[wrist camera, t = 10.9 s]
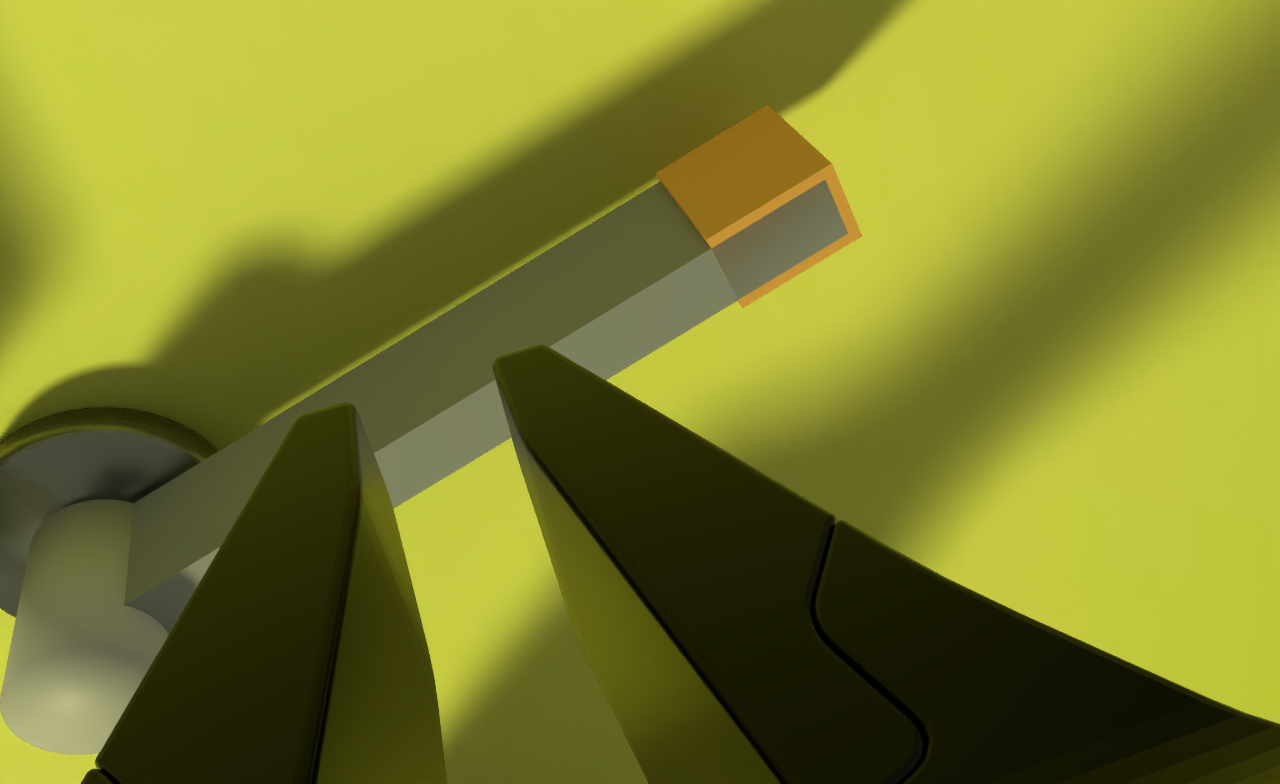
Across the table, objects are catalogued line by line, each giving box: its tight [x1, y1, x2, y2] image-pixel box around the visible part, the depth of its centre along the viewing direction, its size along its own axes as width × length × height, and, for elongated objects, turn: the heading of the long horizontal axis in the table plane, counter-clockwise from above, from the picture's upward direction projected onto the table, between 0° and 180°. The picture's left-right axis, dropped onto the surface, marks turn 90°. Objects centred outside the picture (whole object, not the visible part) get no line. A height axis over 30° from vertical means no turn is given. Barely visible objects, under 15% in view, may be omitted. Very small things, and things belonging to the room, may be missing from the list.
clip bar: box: [0, 105, 862, 755], centre depth 20 cm, size 16×3×4 cm, turn 116°
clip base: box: [0, 408, 218, 617], centre depth 23 cm, size 5×5×1 cm
